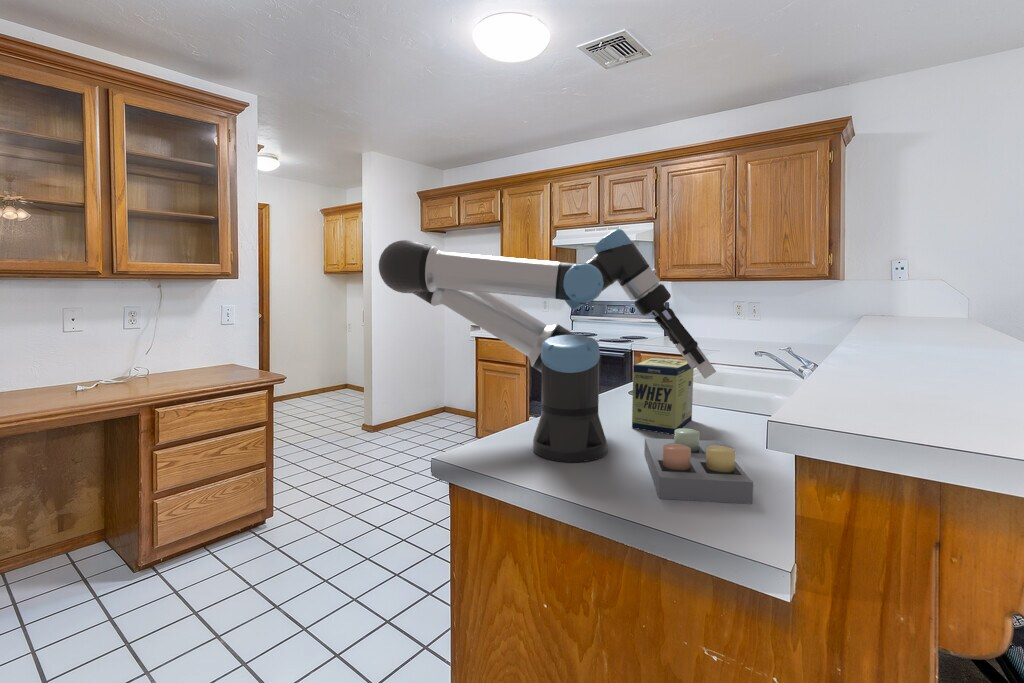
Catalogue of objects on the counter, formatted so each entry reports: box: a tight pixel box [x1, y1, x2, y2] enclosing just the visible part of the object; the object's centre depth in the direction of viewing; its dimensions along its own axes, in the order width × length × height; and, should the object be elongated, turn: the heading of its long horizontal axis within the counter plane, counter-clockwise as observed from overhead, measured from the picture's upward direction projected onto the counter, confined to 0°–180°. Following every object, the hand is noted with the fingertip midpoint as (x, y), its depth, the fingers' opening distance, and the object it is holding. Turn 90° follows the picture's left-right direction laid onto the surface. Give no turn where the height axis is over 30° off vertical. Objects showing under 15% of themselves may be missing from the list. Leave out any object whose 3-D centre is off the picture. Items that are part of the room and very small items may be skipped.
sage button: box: [673, 427, 700, 451], centre depth 93 cm, size 4×4×3 cm
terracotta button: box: [663, 444, 691, 470], centre depth 83 cm, size 4×4×3 cm
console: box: [643, 437, 754, 505], centre depth 88 cm, size 14×21×4 cm, turn 171°
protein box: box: [631, 357, 695, 435], centre depth 122 cm, size 10×16×16 cm
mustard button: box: [706, 445, 736, 472], centre depth 82 cm, size 4×4×3 cm
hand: (703, 369), depth 110 cm, fingers open, 13 cm apart
